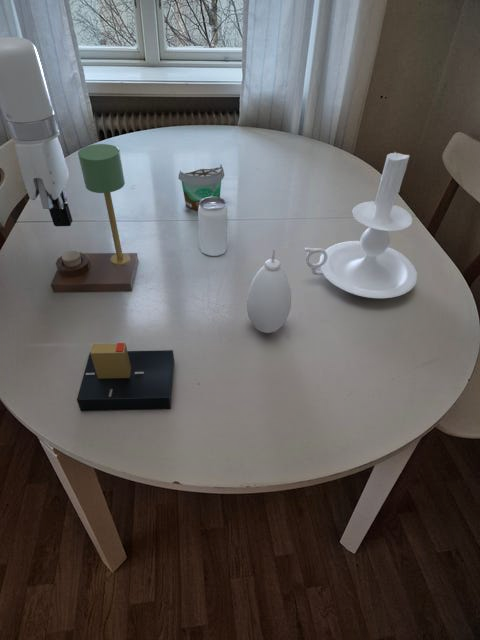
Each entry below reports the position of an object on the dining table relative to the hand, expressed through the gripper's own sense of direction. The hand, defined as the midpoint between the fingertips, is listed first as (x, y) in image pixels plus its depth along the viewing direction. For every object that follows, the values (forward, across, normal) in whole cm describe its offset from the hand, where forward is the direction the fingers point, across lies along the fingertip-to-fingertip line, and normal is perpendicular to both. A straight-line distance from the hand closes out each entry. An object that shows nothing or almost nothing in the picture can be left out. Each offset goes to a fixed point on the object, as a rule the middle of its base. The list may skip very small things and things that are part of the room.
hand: (63, 223), depth 84 cm
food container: (+13, -30, +27) cm, 42 cm away
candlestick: (+14, +2, +60) cm, 62 cm away
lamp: (+9, 0, +9) cm, 13 cm away
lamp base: (+13, 0, +4) cm, 13 cm away
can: (+13, -10, +29) cm, 33 cm away
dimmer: (+13, +30, +15) cm, 36 cm away
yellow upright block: (+10, +30, +13) cm, 34 cm away
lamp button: (+9, 0, -1) cm, 9 cm away
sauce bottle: (+14, +17, +39) cm, 45 cm away
